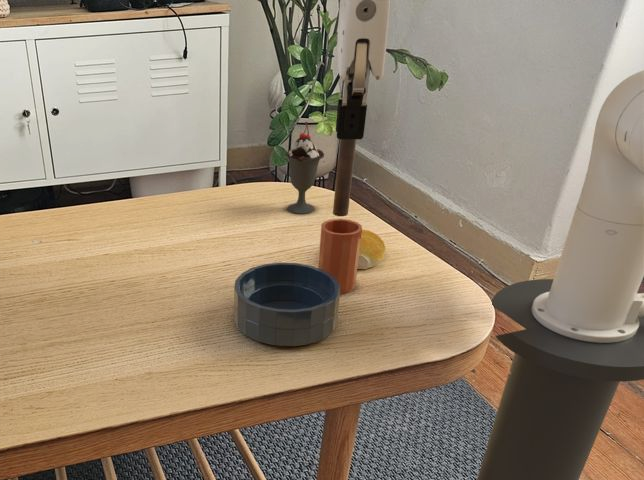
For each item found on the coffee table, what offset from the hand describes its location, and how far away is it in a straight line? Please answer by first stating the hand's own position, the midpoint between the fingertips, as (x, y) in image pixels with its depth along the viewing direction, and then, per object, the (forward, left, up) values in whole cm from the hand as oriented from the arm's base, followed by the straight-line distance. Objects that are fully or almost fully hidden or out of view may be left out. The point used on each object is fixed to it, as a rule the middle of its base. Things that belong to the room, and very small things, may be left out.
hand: (349, 134), depth 81 cm
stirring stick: (0, 0, -11) cm, 11 cm away
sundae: (+5, -29, -22) cm, 37 cm away
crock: (0, 0, -21) cm, 21 cm away
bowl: (+7, +11, -21) cm, 25 cm away
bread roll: (-4, -9, -22) cm, 24 cm away
